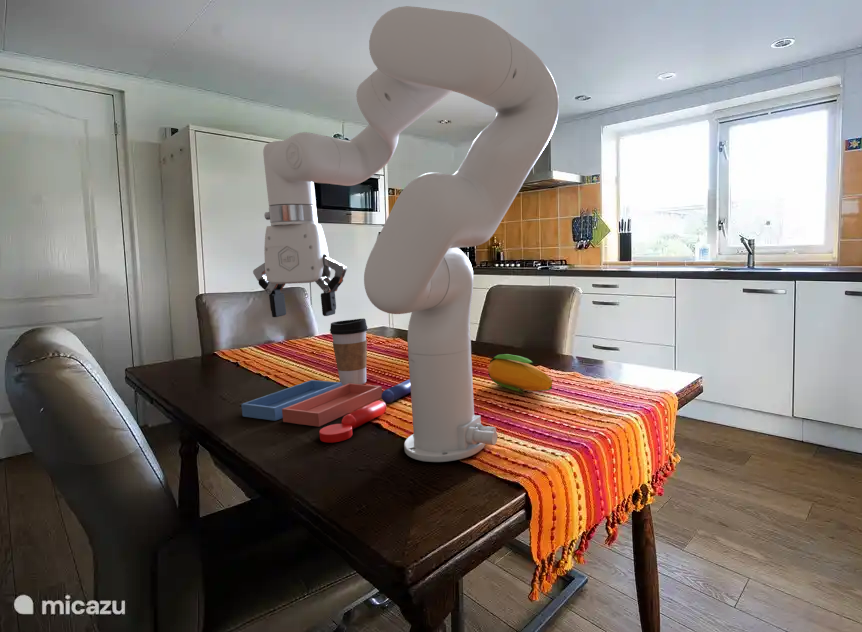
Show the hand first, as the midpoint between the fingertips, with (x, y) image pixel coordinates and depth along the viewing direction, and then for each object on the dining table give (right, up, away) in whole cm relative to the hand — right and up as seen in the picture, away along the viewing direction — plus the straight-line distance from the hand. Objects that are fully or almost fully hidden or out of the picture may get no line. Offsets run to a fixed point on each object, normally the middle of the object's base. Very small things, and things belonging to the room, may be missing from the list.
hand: (304, 315), depth 90 cm
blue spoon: (+14, -17, +20) cm, 30 cm away
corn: (+39, -16, +19) cm, 46 cm away
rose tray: (+2, -19, +11) cm, 22 cm away
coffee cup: (-1, -16, +30) cm, 34 cm away
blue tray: (-8, -18, +15) cm, 25 cm away
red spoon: (+9, -20, 0) cm, 22 cm away
